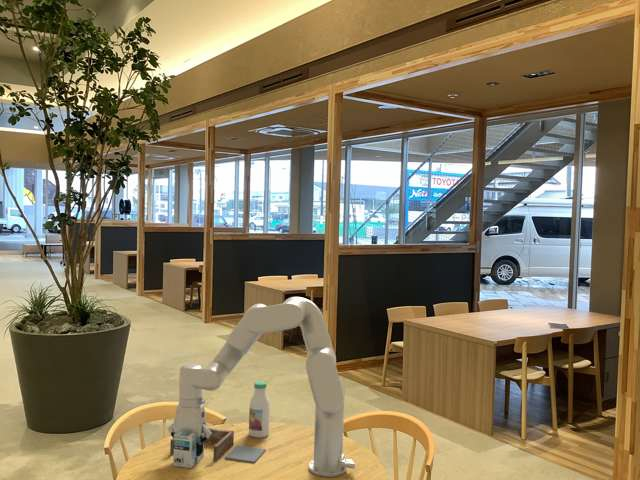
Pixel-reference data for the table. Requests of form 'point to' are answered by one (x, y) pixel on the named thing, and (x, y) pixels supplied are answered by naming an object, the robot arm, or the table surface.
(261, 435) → the milk bottle
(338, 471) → the robot arm
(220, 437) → the cubby
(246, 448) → the pad
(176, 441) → the light bulb box
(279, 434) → the table surface
